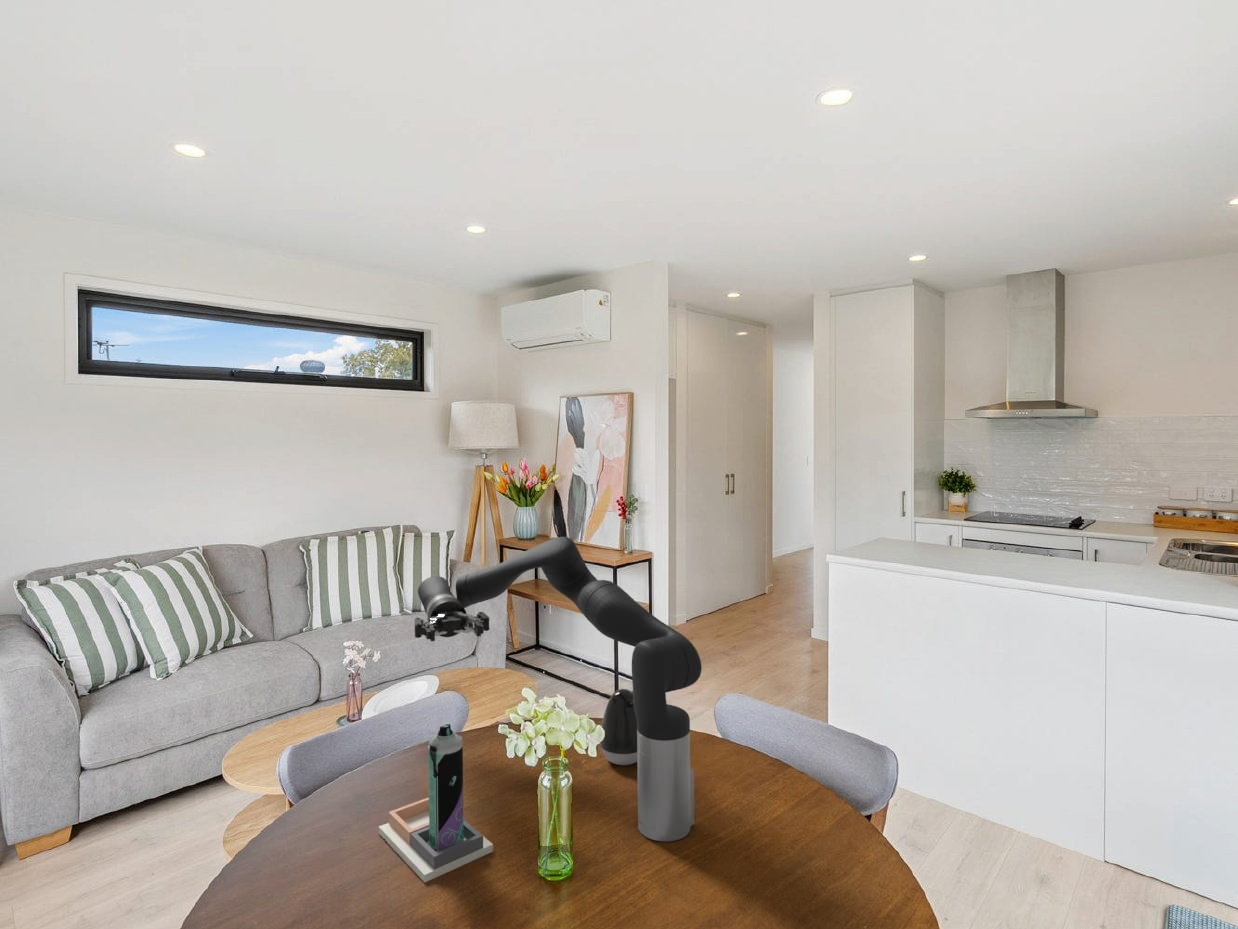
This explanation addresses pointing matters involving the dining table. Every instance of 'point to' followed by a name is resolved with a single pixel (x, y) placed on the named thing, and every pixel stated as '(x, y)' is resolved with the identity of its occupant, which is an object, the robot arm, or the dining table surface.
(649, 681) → the robot arm
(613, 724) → the black egg shaped dome
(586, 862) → the dining table surface
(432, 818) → the spray can
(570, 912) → the dining table surface
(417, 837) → the board
